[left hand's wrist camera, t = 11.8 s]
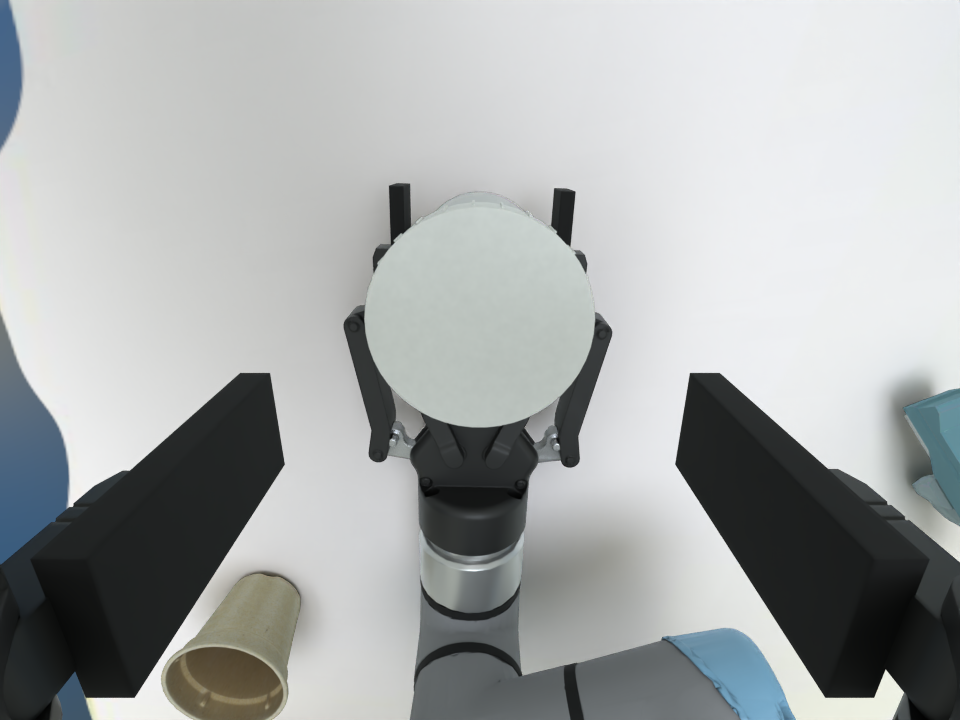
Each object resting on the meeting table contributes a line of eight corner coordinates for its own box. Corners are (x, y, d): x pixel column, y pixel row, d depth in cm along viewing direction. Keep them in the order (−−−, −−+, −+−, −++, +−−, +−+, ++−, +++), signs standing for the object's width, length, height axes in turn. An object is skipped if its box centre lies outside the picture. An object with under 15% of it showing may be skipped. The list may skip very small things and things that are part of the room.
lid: (372, 192, 21) (359, 196, 18) (601, 208, 21) (615, 214, 19) (373, 399, 24) (363, 422, 22) (571, 411, 24) (579, 435, 22)
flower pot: (338, 588, 46) (309, 679, 38) (290, 649, 49) (253, 745, 41) (243, 540, 44) (191, 625, 36) (199, 607, 47) (141, 699, 39)
